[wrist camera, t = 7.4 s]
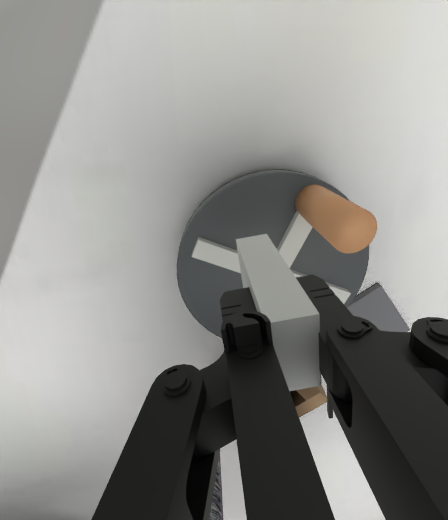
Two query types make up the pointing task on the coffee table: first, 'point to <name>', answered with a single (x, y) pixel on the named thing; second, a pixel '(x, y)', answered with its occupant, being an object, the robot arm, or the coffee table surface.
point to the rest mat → (378, 310)
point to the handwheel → (272, 237)
